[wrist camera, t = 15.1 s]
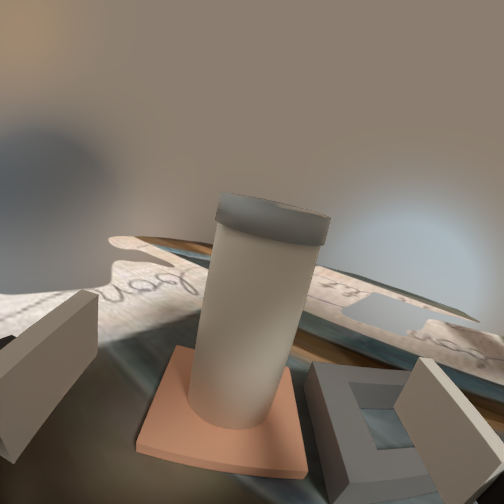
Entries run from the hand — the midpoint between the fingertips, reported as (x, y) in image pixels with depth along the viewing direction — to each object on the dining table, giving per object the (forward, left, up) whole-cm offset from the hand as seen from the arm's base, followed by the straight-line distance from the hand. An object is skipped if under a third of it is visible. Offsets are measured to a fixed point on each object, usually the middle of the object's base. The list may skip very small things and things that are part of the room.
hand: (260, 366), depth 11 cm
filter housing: (-14, -7, -11) cm, 19 cm away
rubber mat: (0, -9, -11) cm, 14 cm away
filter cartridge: (0, -9, -10) cm, 13 cm away
